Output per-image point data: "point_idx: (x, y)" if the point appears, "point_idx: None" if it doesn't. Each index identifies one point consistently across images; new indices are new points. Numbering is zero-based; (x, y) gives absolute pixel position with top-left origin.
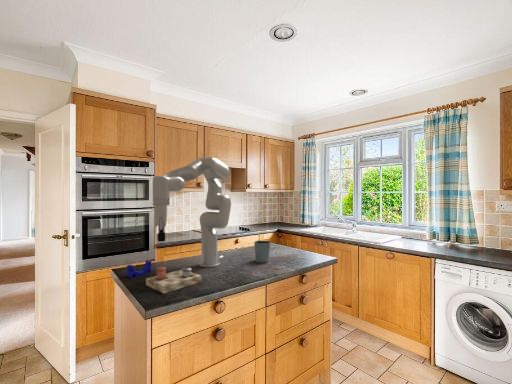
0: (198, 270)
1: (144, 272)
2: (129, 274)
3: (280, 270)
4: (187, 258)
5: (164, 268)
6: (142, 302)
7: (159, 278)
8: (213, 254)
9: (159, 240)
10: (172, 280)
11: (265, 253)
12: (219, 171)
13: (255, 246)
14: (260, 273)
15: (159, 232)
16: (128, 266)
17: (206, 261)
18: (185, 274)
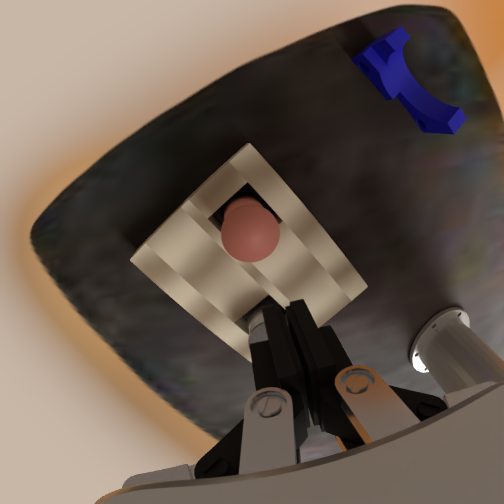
0: (393, 320)
1: (407, 106)
2: (367, 47)
3: None
4: None
5: (241, 254)
6: (63, 196)
7: (224, 217)
8: (438, 381)
9: (265, 326)
10: (208, 278)
11: None
12: None
13: None
14: (304, 458)
15: (274, 405)
16: (390, 33)
17: (431, 347)
18: (249, 328)
